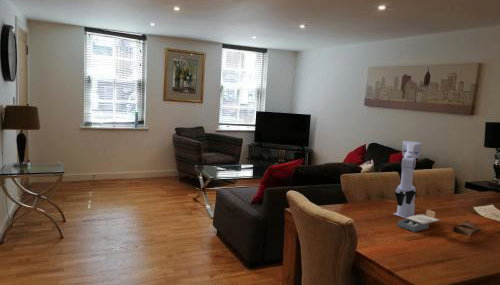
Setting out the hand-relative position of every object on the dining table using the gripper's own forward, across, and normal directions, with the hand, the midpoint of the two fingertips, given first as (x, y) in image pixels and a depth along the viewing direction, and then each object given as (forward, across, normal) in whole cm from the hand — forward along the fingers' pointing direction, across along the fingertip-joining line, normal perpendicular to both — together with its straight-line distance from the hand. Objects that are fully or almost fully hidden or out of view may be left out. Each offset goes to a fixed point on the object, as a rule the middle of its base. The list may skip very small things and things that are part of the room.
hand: (403, 204), depth 193 cm
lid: (+8, -6, +8) cm, 13 cm away
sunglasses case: (+11, -22, +24) cm, 34 cm away
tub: (+10, +2, +7) cm, 12 cm away
